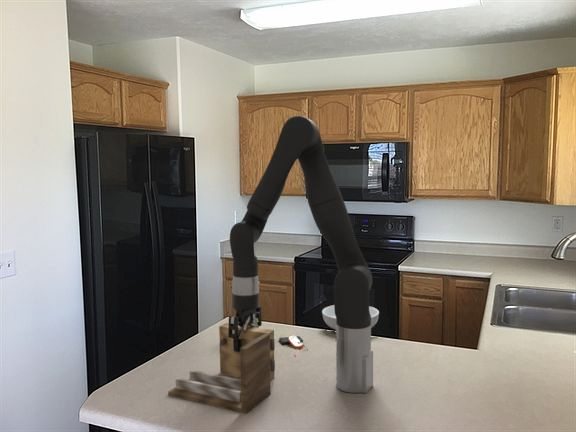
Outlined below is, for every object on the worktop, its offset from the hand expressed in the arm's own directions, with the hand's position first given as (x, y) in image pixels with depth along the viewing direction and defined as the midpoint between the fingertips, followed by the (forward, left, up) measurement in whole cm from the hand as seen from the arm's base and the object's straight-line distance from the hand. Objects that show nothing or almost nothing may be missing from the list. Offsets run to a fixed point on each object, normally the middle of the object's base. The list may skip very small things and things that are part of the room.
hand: (245, 346), depth 147 cm
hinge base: (0, +14, -8) cm, 16 cm away
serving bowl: (-12, -54, -9) cm, 56 cm away
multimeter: (-4, -28, -9) cm, 30 cm away
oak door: (0, 0, -9) cm, 9 cm away
